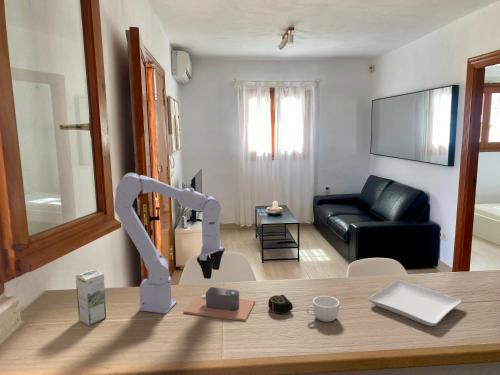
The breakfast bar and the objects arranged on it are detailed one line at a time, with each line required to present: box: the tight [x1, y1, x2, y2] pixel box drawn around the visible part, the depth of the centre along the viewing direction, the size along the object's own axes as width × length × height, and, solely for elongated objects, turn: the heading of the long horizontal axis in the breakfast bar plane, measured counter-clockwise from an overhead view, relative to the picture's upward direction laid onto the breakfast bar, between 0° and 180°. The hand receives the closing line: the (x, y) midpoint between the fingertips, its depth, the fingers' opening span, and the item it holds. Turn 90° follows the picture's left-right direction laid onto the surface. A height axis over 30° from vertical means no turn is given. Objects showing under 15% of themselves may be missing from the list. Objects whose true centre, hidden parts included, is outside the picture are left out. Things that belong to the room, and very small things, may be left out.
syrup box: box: [75, 269, 107, 327], centre depth 107 cm, size 6×6×14 cm
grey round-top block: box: [201, 286, 240, 311], centre depth 114 cm, size 12×4×5 cm, turn 75°
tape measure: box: [267, 294, 294, 314], centre depth 113 cm, size 7×7×4 cm
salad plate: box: [367, 279, 462, 327], centre depth 114 cm, size 21×21×3 cm
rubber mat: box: [183, 294, 256, 322], centre depth 114 cm, size 20×12×1 cm, turn 76°
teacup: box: [306, 295, 340, 323], centre depth 107 cm, size 10×8×5 cm
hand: (211, 273), depth 118 cm, fingers open, 7 cm apart
